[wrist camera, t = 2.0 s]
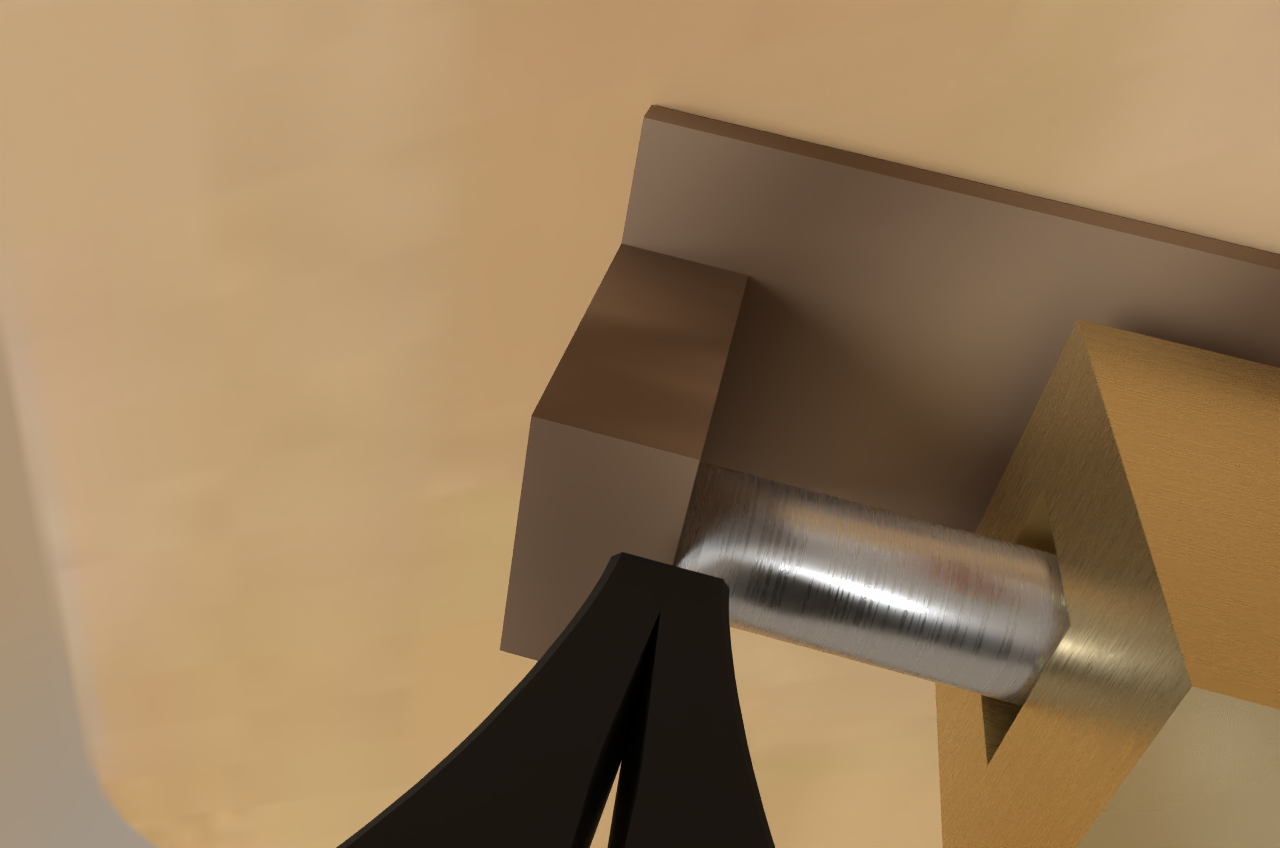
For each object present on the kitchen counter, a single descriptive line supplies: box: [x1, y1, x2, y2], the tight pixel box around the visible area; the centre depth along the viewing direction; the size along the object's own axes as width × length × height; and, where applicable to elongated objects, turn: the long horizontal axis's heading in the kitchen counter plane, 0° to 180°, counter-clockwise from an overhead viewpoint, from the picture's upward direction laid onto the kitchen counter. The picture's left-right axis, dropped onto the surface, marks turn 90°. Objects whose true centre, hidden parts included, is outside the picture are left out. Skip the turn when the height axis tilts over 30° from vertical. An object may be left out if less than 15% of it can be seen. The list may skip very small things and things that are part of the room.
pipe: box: [673, 461, 1071, 706], centre depth 13 cm, size 18×2×2 cm, turn 80°
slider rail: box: [500, 105, 1280, 661], centre depth 15 cm, size 18×8×6 cm, turn 80°
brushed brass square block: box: [935, 319, 1280, 848], centre depth 13 cm, size 3×6×7 cm, turn 170°
